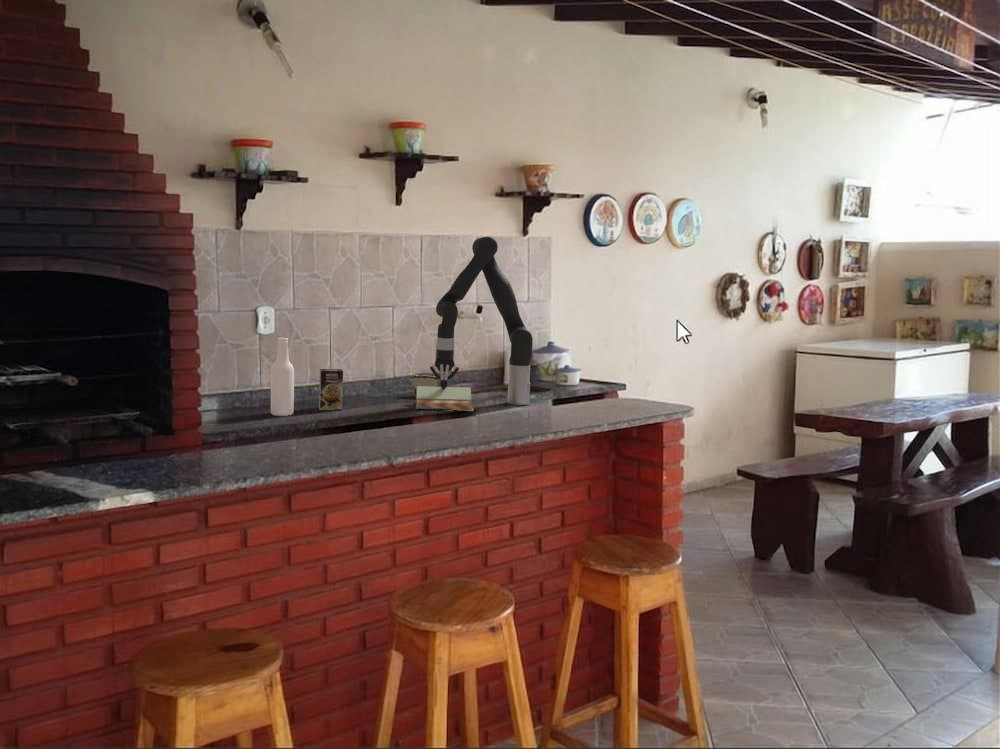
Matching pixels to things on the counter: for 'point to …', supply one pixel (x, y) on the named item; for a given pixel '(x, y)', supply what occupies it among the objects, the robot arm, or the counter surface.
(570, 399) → the counter surface
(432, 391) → the board
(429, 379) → the food container
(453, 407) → the floor frame
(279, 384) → the alcohol
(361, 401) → the counter surface
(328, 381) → the coffee box
